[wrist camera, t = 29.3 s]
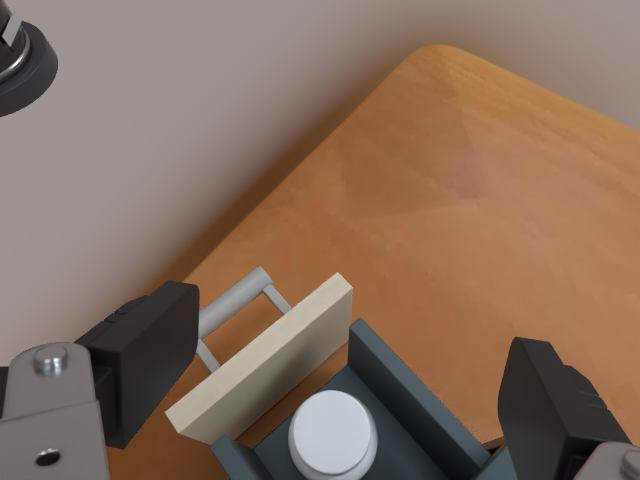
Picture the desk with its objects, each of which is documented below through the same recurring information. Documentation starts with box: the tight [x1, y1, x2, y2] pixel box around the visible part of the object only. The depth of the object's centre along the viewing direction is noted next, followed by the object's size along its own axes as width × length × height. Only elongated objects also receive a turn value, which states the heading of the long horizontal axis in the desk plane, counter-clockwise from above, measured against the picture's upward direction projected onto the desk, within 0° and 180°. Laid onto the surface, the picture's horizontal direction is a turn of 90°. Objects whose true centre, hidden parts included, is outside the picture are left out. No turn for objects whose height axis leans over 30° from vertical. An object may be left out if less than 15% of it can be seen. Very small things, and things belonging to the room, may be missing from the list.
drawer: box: [165, 266, 492, 480], centre depth 25 cm, size 18×10×9 cm, turn 41°
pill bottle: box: [288, 390, 378, 480], centre depth 24 cm, size 4×4×8 cm
